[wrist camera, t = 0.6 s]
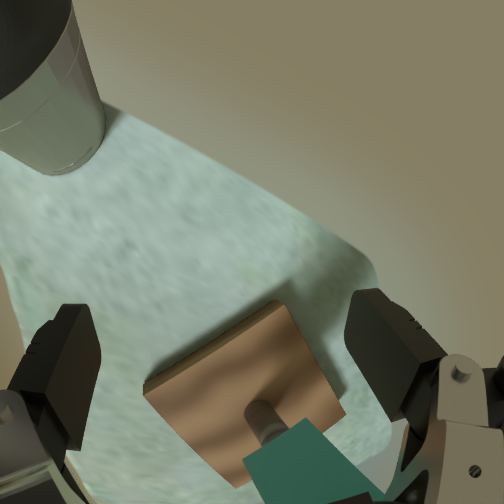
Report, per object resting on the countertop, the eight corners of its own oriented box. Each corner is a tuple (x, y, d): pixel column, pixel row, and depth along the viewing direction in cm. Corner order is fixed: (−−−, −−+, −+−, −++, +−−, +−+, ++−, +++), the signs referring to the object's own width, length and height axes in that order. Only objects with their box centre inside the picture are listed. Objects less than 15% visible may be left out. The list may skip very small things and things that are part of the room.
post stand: (143, 384, 29) (145, 457, 17) (274, 299, 32) (339, 331, 21) (230, 476, 32) (262, 544, 21) (335, 405, 36) (395, 453, 24)
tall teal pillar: (241, 459, 21) (301, 563, 10) (305, 417, 22) (393, 502, 12) (276, 492, 22) (334, 577, 11) (332, 454, 23) (407, 527, 13)
